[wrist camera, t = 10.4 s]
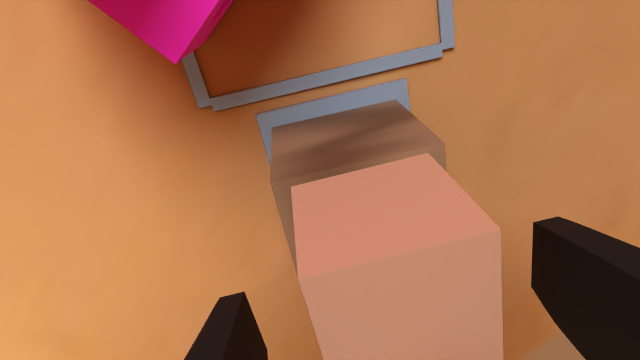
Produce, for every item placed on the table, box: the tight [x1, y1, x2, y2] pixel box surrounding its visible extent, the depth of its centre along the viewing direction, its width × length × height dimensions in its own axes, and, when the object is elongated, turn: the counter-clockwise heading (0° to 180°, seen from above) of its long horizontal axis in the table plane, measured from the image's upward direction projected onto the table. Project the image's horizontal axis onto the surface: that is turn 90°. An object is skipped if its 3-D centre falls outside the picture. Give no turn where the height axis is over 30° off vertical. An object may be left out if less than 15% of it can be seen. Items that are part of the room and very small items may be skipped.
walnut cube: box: [271, 99, 446, 313], centre depth 14 cm, size 5×5×5 cm
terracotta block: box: [291, 153, 503, 360], centre depth 10 cm, size 4×4×4 cm
